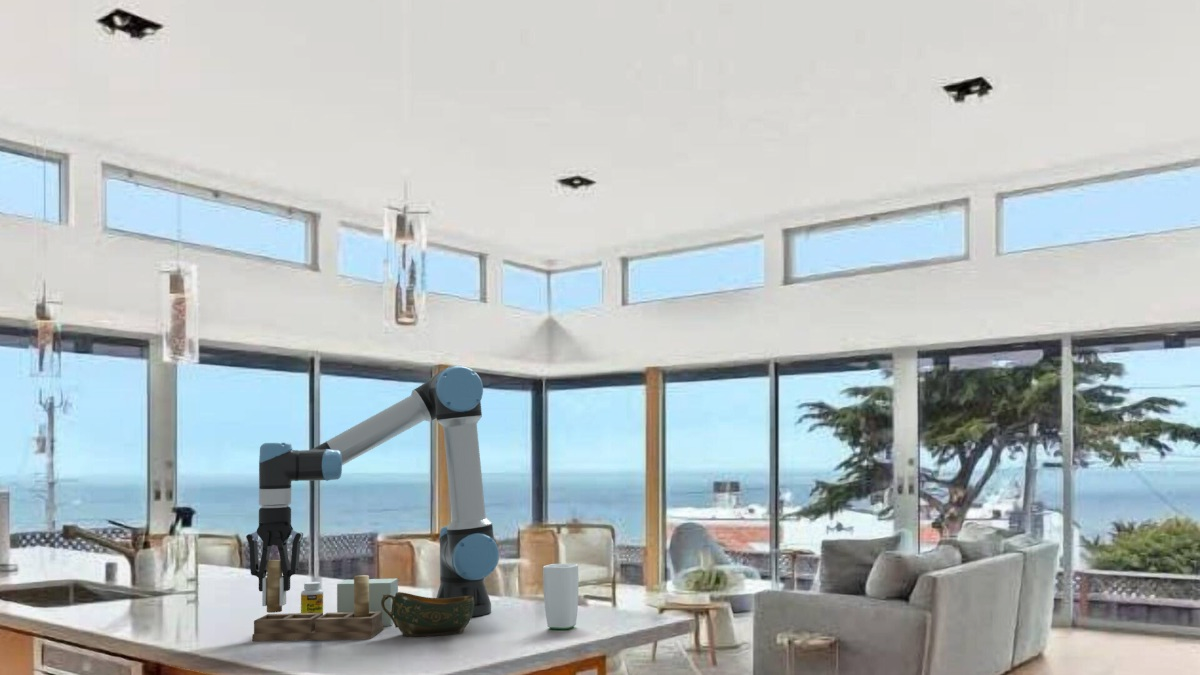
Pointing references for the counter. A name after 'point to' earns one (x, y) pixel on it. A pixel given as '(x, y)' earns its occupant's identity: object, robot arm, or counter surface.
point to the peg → (273, 586)
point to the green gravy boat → (429, 614)
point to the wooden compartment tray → (324, 621)
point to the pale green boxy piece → (375, 596)
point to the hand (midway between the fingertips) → (274, 604)
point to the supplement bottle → (312, 598)
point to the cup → (560, 595)
